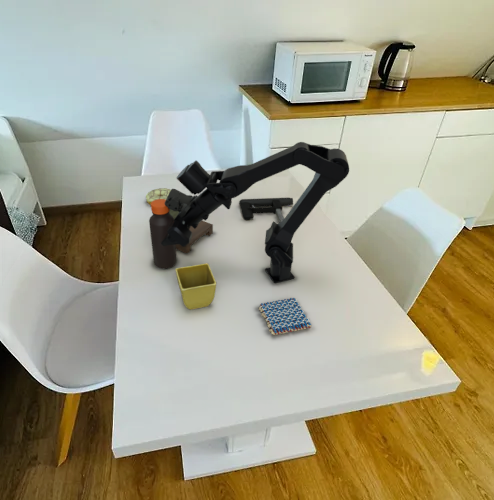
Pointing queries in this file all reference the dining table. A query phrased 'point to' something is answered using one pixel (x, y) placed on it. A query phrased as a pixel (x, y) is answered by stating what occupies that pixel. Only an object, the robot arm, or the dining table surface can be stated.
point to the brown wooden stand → (194, 232)
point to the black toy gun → (273, 202)
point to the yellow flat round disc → (157, 194)
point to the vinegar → (161, 235)
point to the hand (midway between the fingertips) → (166, 235)
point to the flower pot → (196, 285)
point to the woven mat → (284, 316)
